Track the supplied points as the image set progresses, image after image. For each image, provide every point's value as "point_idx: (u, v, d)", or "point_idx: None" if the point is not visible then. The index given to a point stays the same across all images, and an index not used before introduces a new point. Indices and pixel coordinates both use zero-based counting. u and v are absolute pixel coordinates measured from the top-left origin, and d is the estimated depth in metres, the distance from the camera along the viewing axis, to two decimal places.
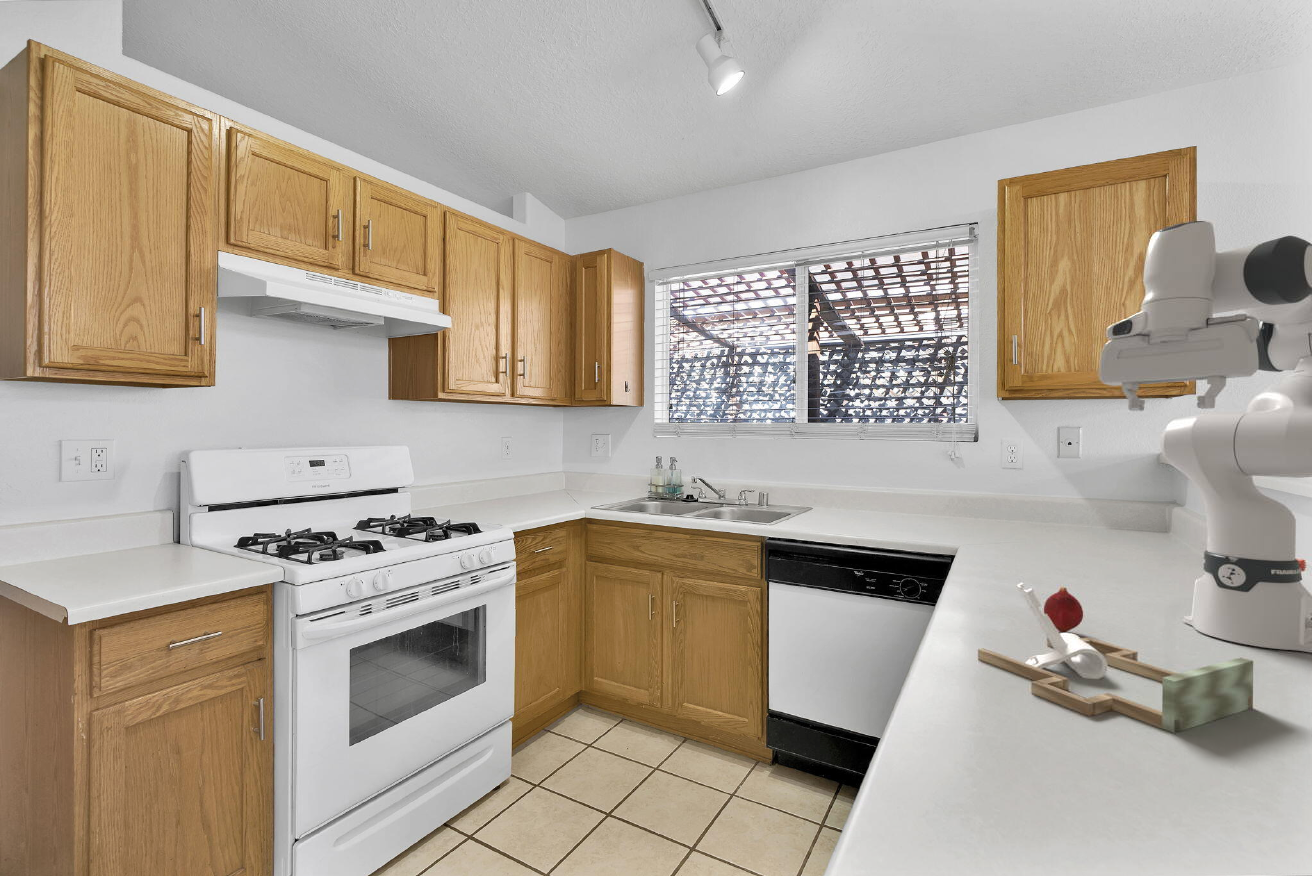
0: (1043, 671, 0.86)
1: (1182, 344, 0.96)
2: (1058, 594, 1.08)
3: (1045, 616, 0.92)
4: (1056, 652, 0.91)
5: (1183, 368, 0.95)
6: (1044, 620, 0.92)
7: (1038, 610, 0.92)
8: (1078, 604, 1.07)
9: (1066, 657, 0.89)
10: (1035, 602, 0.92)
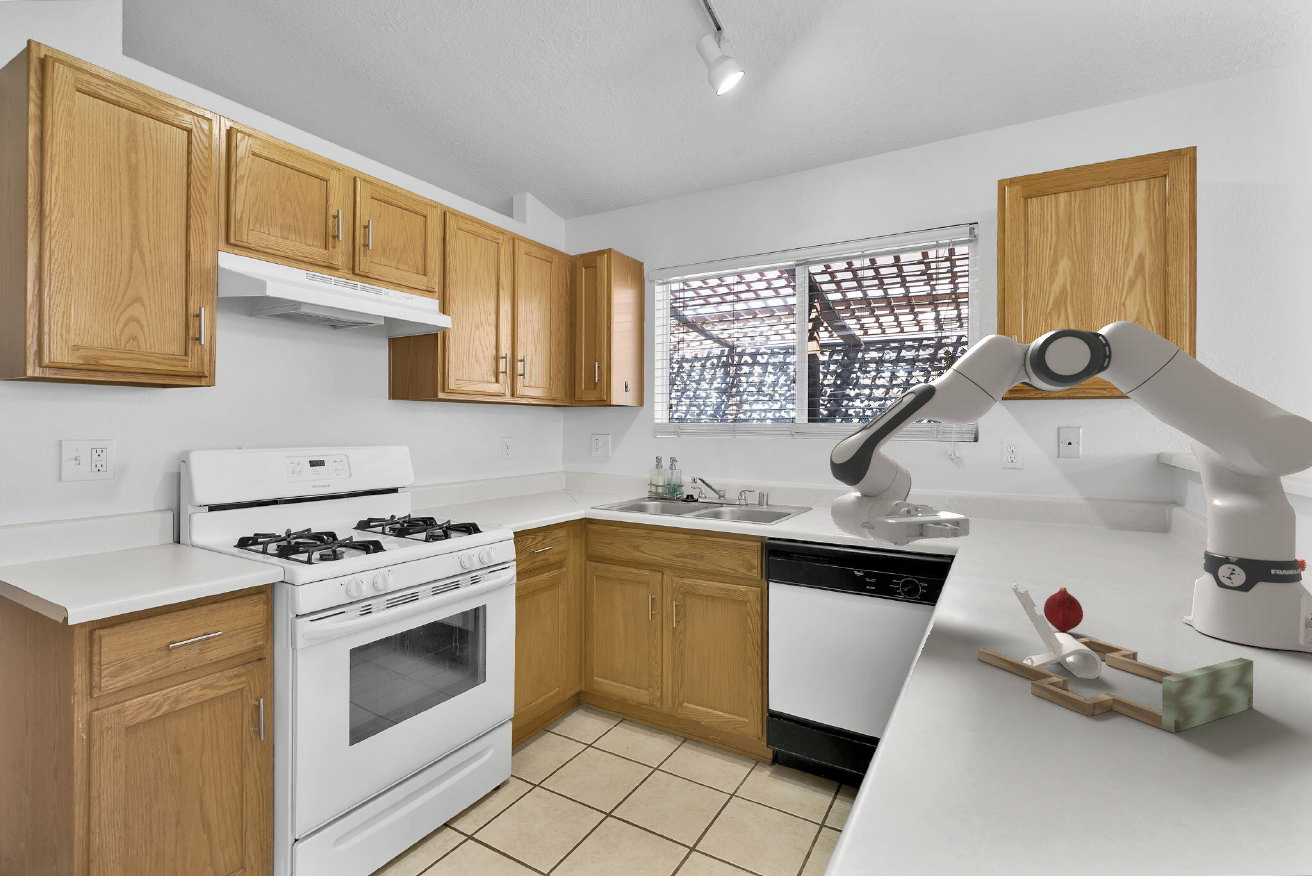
0: (1043, 671, 0.86)
1: None
2: (1058, 594, 1.08)
3: (1040, 616, 0.91)
4: (1051, 652, 0.91)
5: None
6: (1039, 621, 0.92)
7: (1033, 611, 0.92)
8: (1078, 603, 1.07)
9: (1062, 657, 0.88)
10: (1030, 603, 0.92)
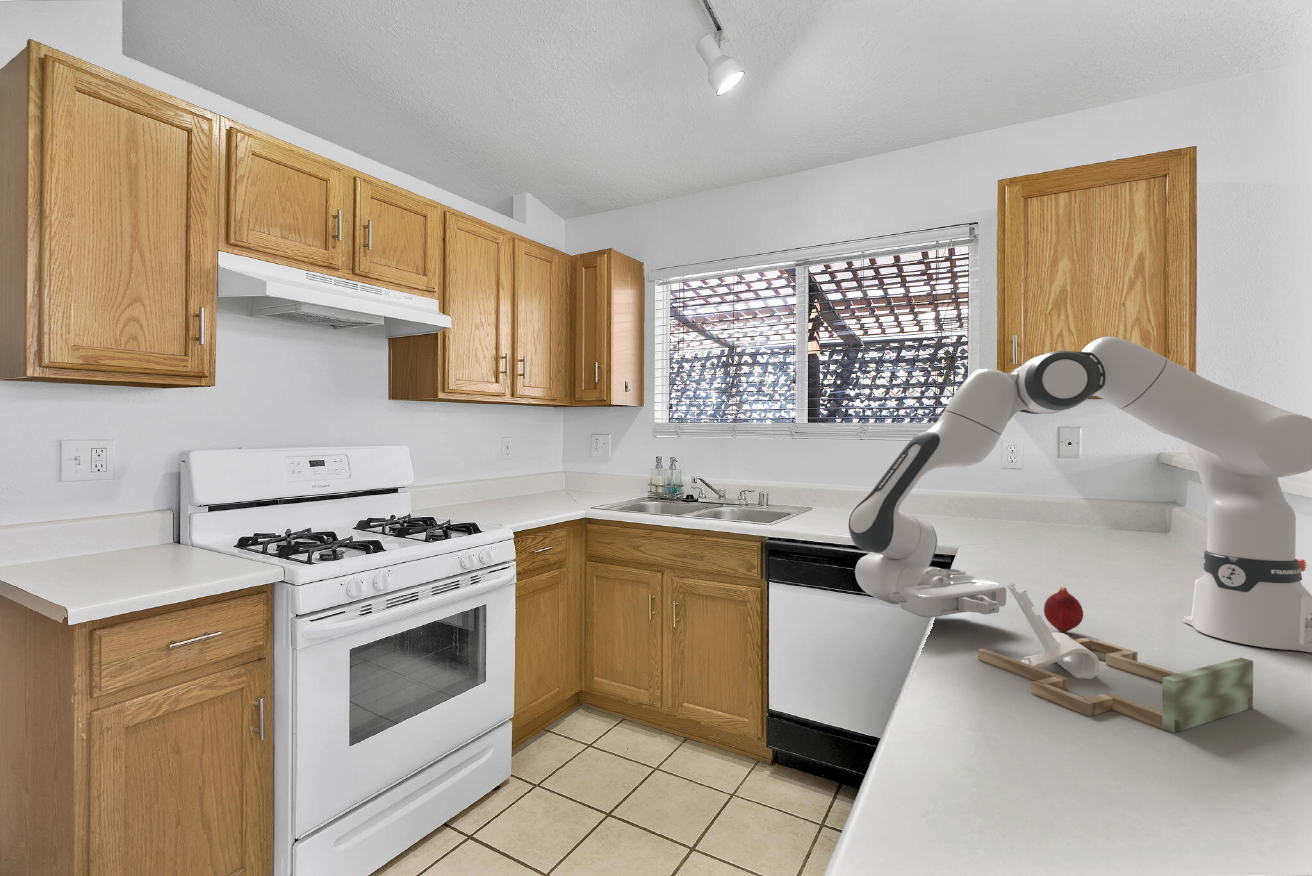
0: (1043, 671, 0.86)
1: None
2: (1058, 594, 1.08)
3: (1038, 616, 0.91)
4: (1049, 652, 0.91)
5: None
6: (1037, 620, 0.91)
7: (1031, 610, 0.92)
8: (1078, 604, 1.07)
9: (1060, 657, 0.88)
10: (1028, 603, 0.92)
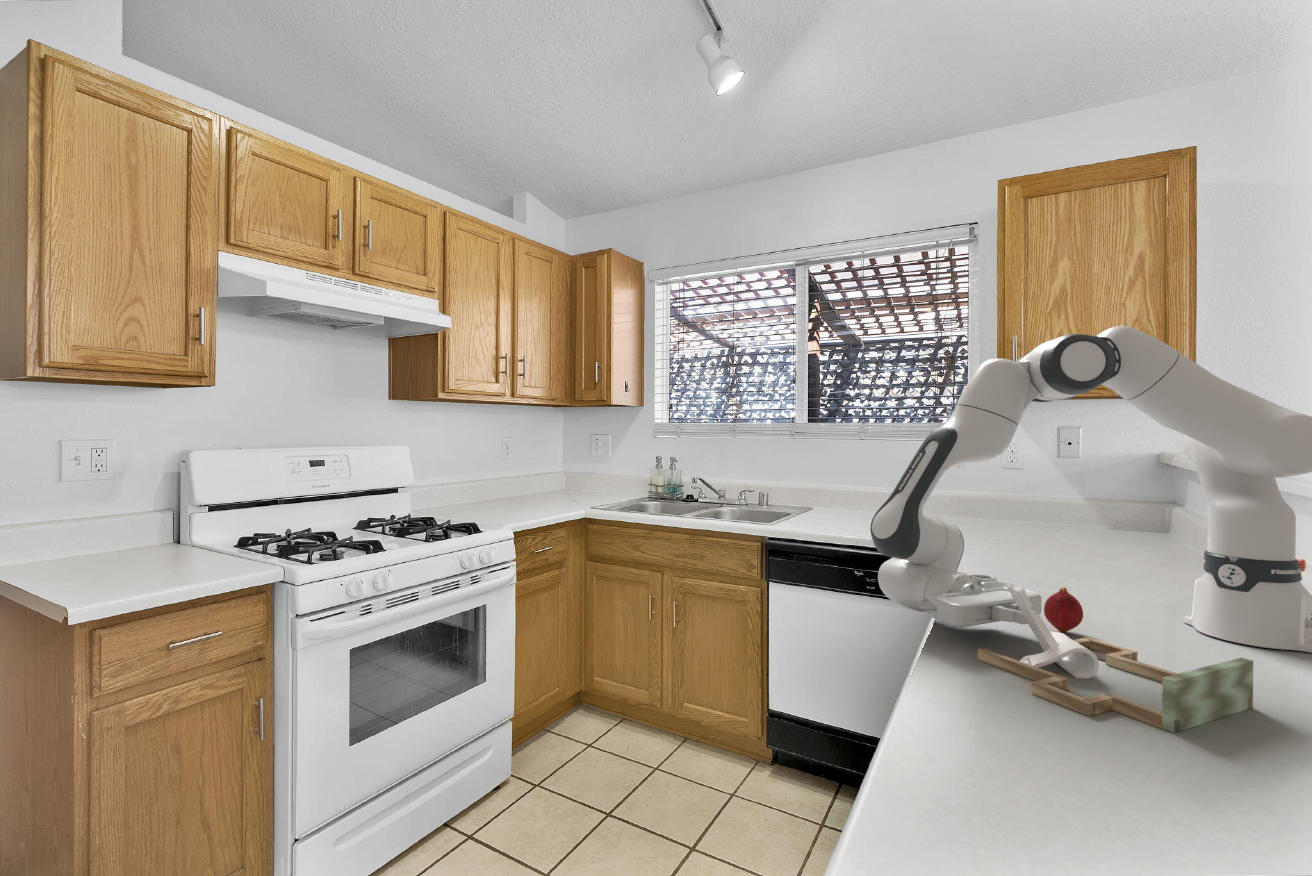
0: (1043, 671, 0.86)
1: None
2: (1058, 594, 1.08)
3: (1037, 616, 0.91)
4: (1048, 652, 0.91)
5: None
6: (1036, 620, 0.91)
7: (1030, 610, 0.91)
8: (1078, 604, 1.07)
9: (1059, 657, 0.88)
10: (1027, 602, 0.91)
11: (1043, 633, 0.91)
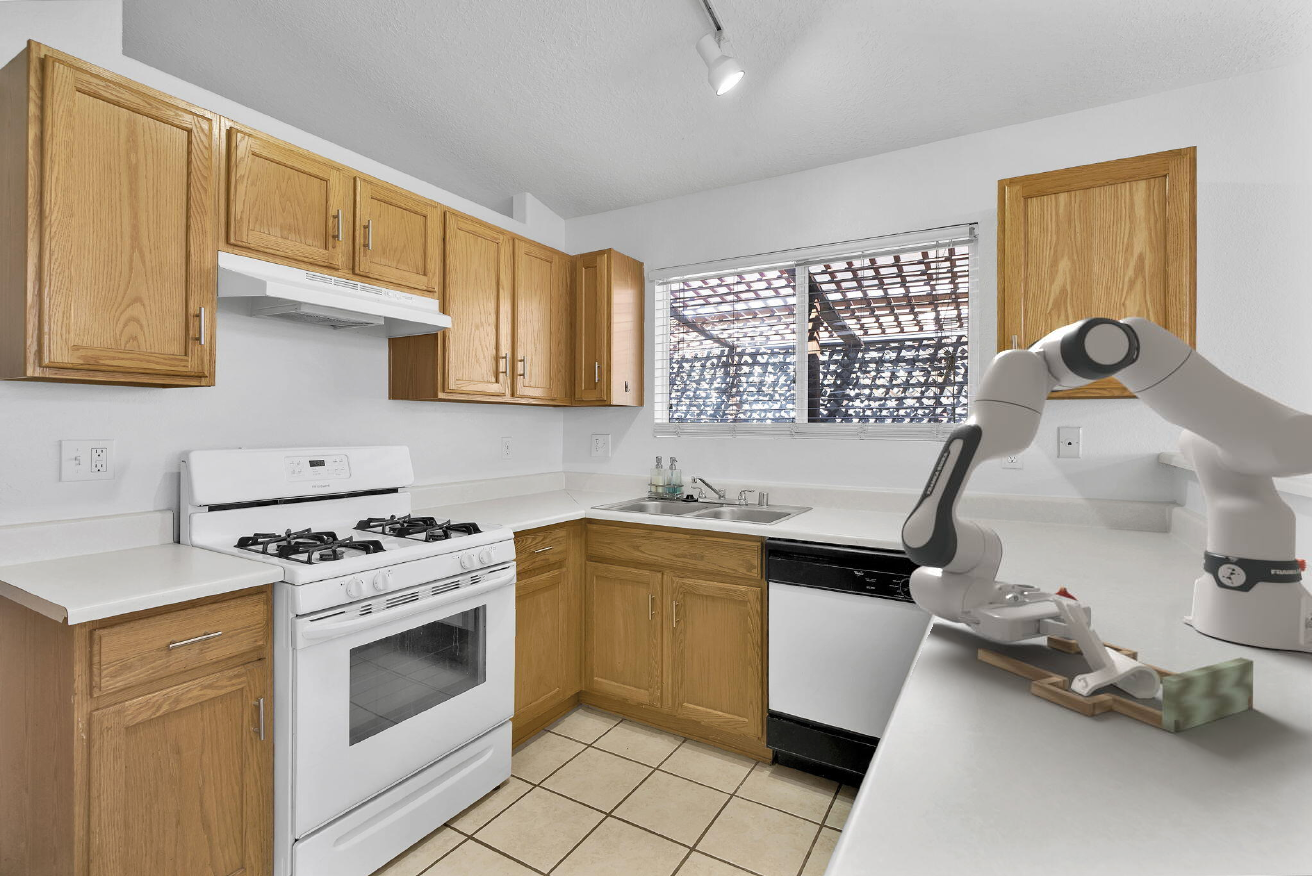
0: (1043, 671, 0.86)
1: None
2: (1058, 594, 1.08)
3: (1092, 632, 0.84)
4: (1104, 671, 0.83)
5: None
6: (1091, 636, 0.84)
7: (1085, 626, 0.84)
8: None
9: (1120, 676, 0.81)
10: (1082, 617, 0.84)
11: (1098, 650, 0.84)
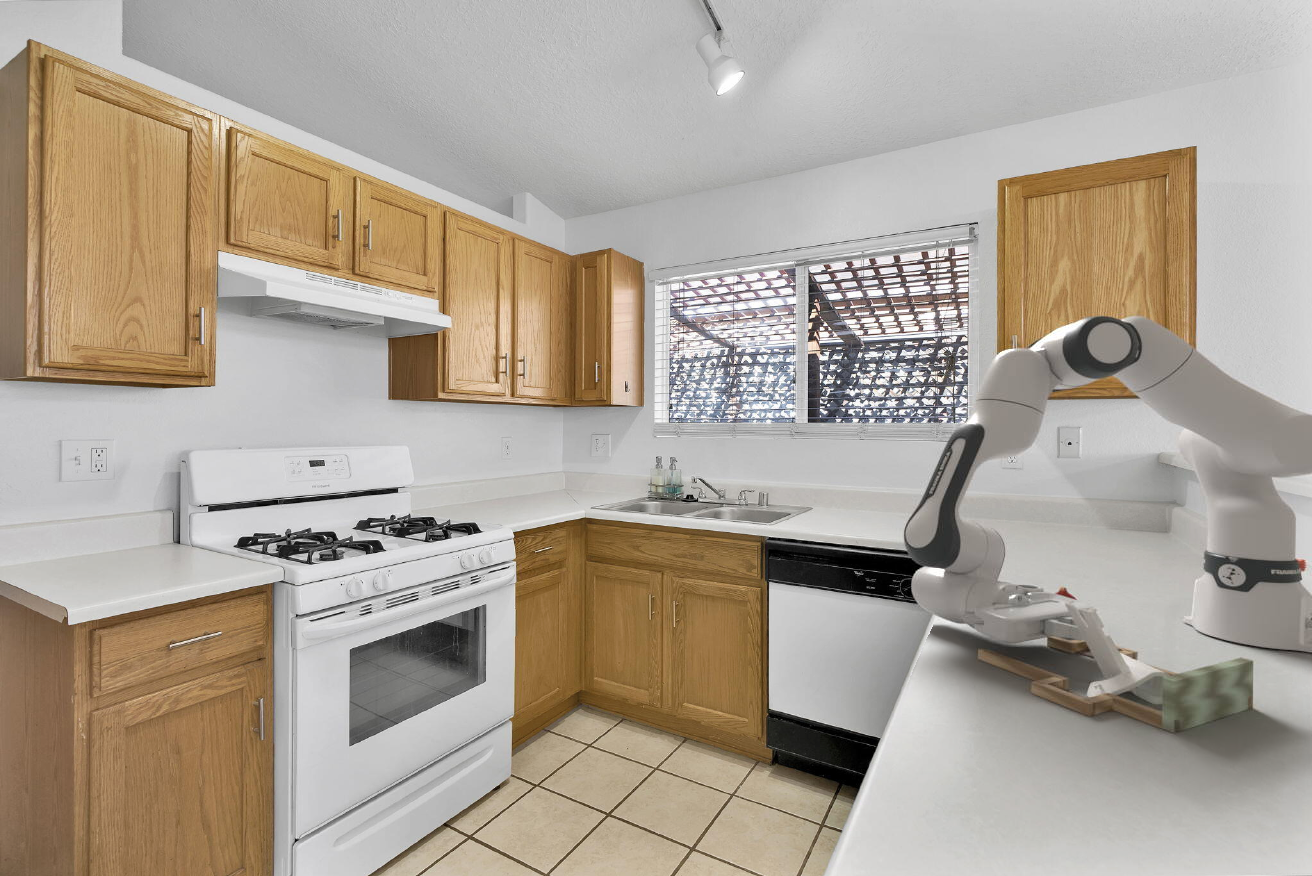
0: (1043, 671, 0.86)
1: None
2: (1058, 594, 1.08)
3: (1108, 638, 0.82)
4: (1120, 677, 0.81)
5: None
6: (1107, 642, 0.82)
7: (1101, 632, 0.82)
8: None
9: (1137, 683, 0.79)
10: (1098, 623, 0.82)
11: (1114, 656, 0.82)
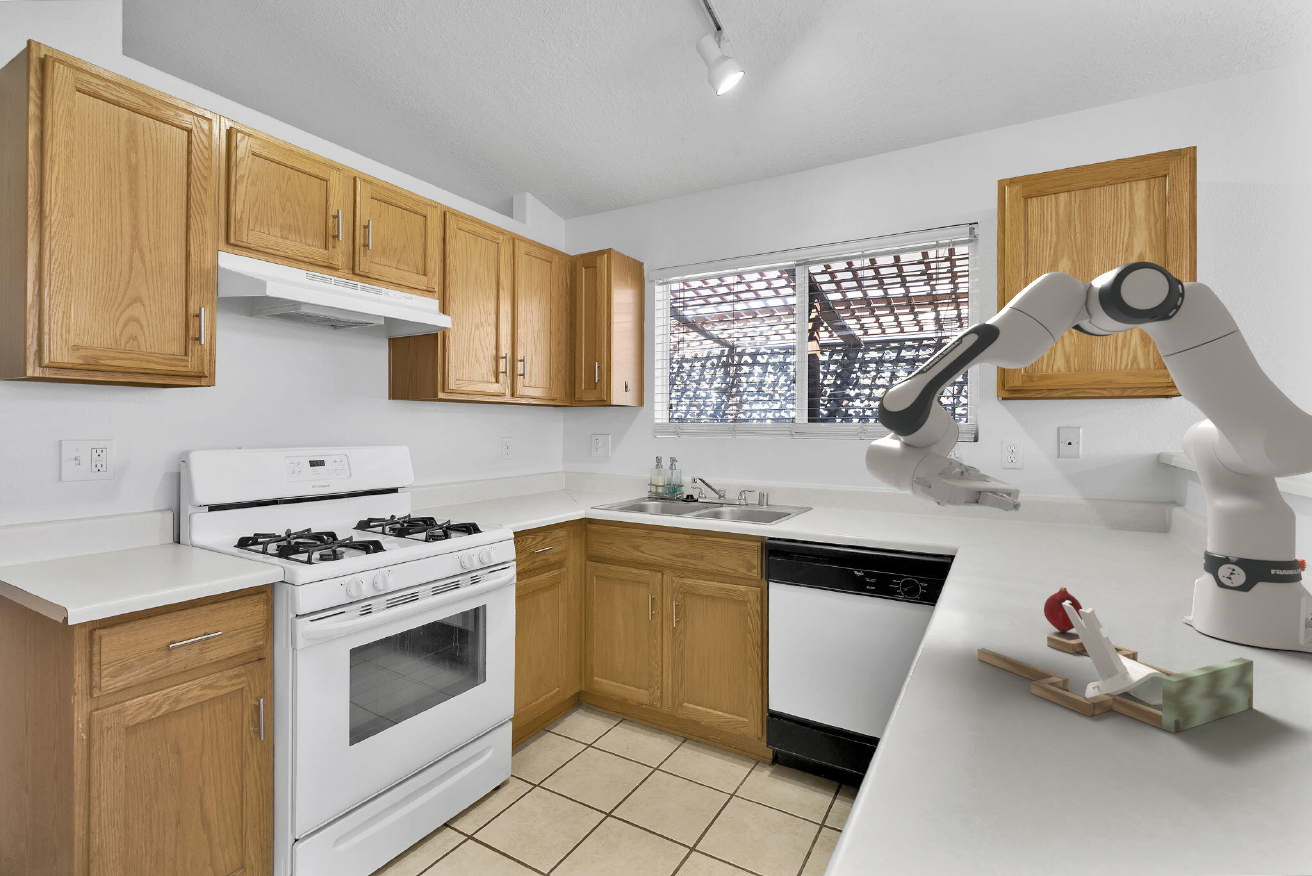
0: (1043, 671, 0.86)
1: None
2: (1058, 594, 1.08)
3: (1105, 638, 0.82)
4: (1118, 678, 0.81)
5: None
6: (1105, 643, 0.82)
7: (1099, 632, 0.82)
8: (1078, 604, 1.07)
9: (1135, 684, 0.79)
10: (1096, 623, 0.82)
11: (1111, 657, 0.82)
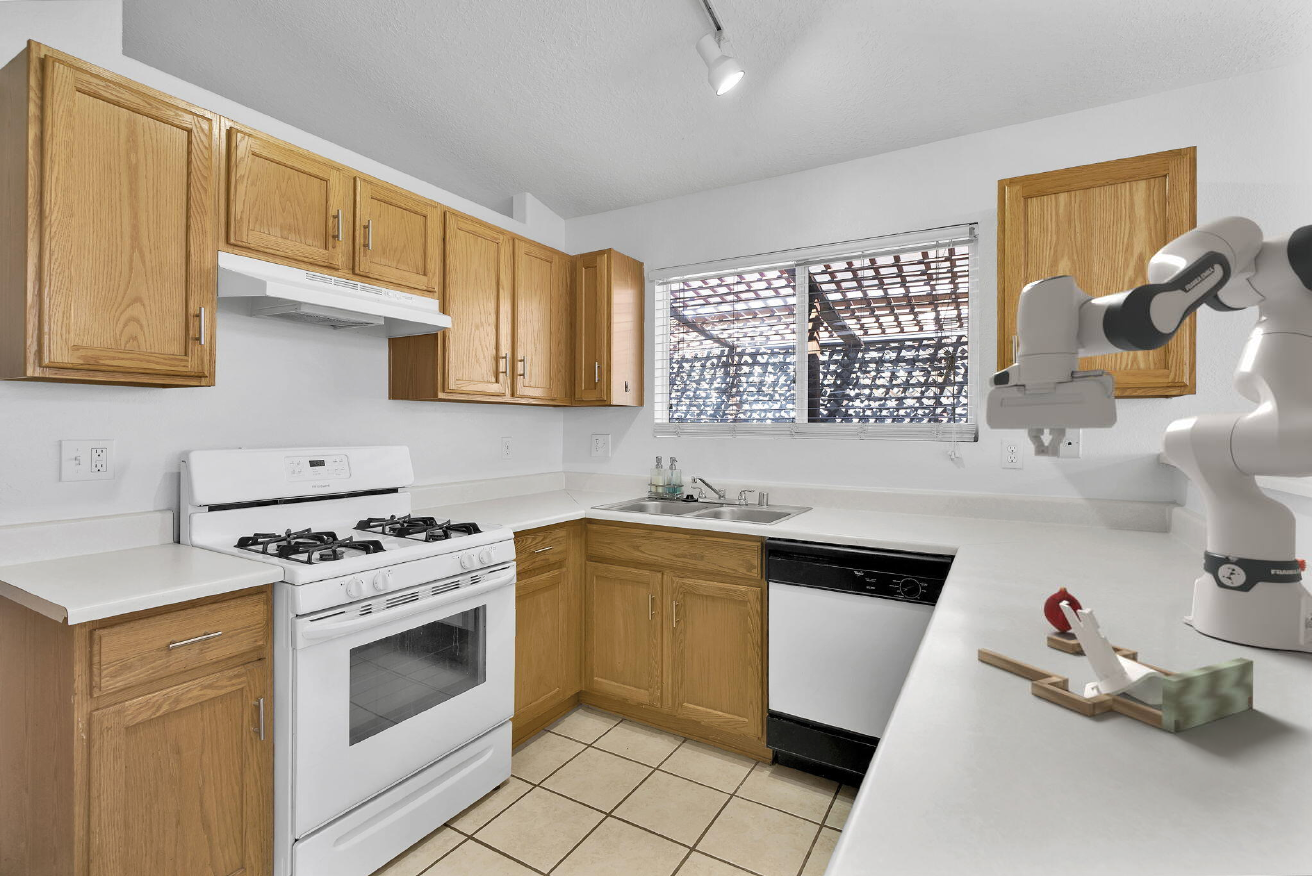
0: (1043, 671, 0.86)
1: (1051, 396, 1.01)
2: (1058, 594, 1.08)
3: (1104, 638, 0.82)
4: (1116, 678, 0.81)
5: (1053, 420, 1.01)
6: (1103, 643, 0.82)
7: (1097, 632, 0.81)
8: (1078, 604, 1.07)
9: (1134, 684, 0.79)
10: (1094, 624, 0.81)
11: (1109, 657, 0.82)
